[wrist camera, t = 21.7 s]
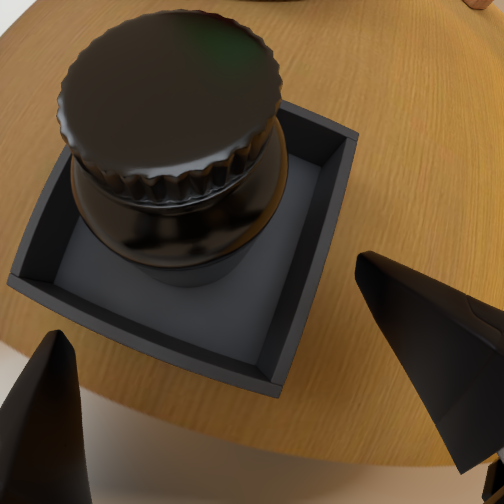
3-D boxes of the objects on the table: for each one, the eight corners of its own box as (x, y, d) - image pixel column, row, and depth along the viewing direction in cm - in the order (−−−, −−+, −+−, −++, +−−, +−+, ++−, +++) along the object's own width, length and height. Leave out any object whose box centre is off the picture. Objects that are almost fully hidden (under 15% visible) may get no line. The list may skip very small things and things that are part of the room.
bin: (260, 376, 17) (278, 399, 13) (46, 290, 16) (5, 284, 12) (329, 166, 20) (359, 132, 15) (137, 98, 19) (125, 53, 14)
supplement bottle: (277, 231, 18) (394, 112, 6) (181, 315, 16) (128, 339, 5) (197, 143, 18) (201, -36, 6) (103, 218, 17) (-19, 93, 5)
